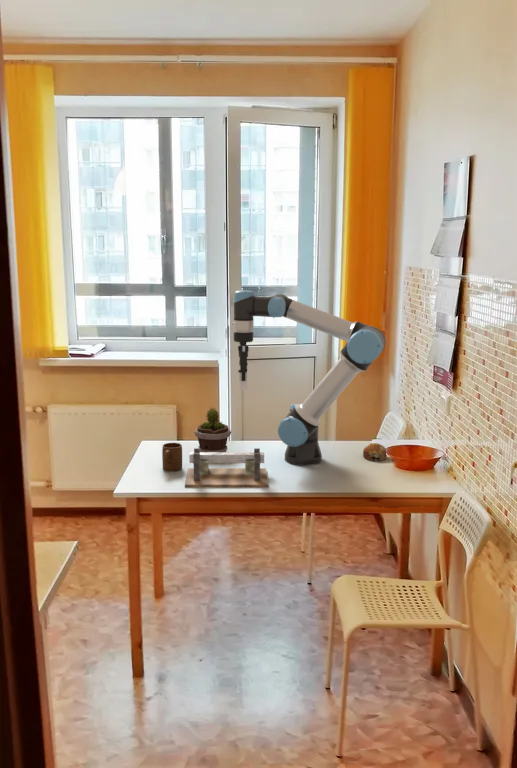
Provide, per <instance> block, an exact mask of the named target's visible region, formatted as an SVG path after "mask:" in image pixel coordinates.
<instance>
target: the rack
mask: <svg viewBox="0 0 517 768" xmlns="http://www.w3.org/2000/svg"><path fill="white" fill-rule="evenodd" d="M193 452H194V453H193V463H192V464H193V467H191V468H187V471H186V476H185V481H184V488H269V486H270V485H269V479H268V473H267V468H265V467H264V468H261V463H260V455H261V454H260V452H261V450H260V448H259V447H258V448H257V447H256V448H254V449H253V452H254V461H246V463H244V468H240V467H239V468H236V467H235V468H234V467H233V468H229V467H228V468H225V467H224V468H223V467H222V468H220V467H219V468H218V467H217V468H215V467H214V468H211V467H210V463H208V461H200V448H198V447H197V448H196V447H194V449H193ZM209 467H210V468H209Z"/></svg>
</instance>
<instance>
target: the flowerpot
mask: <svg viewBox="0 0 517 768" xmlns="http://www.w3.org/2000/svg"><path fill="white" fill-rule="evenodd" d="M204 414H205V413H204ZM205 417H206V420H205V421H203V422H202V423H201V424H199V425H198V426H197V427H196V429H195V430H194V436H195V437H197V441H198V446H197V448H200V452H227V451H228V445H227V443H228V439H229V437H230V436H231V435H232V431H231V429H230V428H229V426H228V425H227V424H224V423H223V421H221V420H220V412H219V410H217V409H216V408H215V406H213V407H210V408H209V409H208V410H207V411H206V414H205Z"/></svg>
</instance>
